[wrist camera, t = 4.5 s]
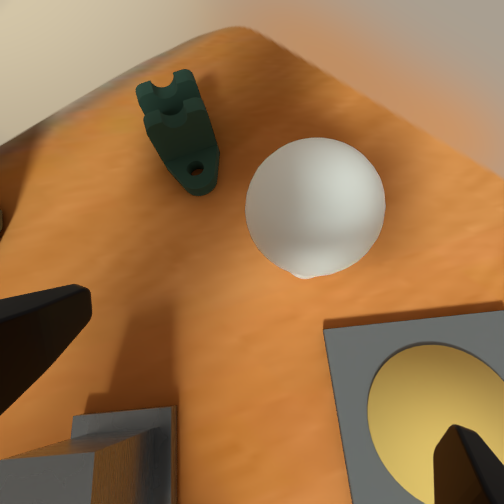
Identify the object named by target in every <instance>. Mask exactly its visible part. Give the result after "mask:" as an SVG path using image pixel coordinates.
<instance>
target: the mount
mask: <svg viewBox="0 0 504 504" xmlns="http://www.w3.org/2000/svg"><path fill="white" fill-rule="evenodd" d="M173 75H174V78H173V81H172V83H171V84H170V85H169V86H167V87H162V88H161V87H157V86H155V85H153V84H152V83H151V81H147V82H144V83H141V84H139V85H138V86H137V87H136V95H137V98H138V102H139V105H140V107H141V109H142V111H143V113H144V114H145V116H144V119H143V121H144V125H145V128H146V132H147V135H148V137H149V139H150V140H151V142H152V144H153V145H154V147H155V149H156V150H157V152H158V154H159V156H160V157H161V159H162V161H163V162H164V164H165V166H166V167H167V169H168V171H169V172H170V173H171V174H172V175H173V176H174V177H175V179H176V180H177V181H178V182H179V183H180V184H181V185H182V186H183V187H184V188H185V190H186V191H187V192H188V193H190V194H192V195H195V196H202V195H206V194H208V193H209V192H211V191H212V190H213V189H214V188H215V186H216V184H217V177H218V166H219V156H220V152H219V149H218V145H217V142H216V139H215V136H214V132H213V129H212V126H211V123H210V119H209V116H208V113H207V110H206V108H205V105H204V103H203V101H202V99H201V96H200V93H199V90H198V87H197V84H196V81H195V79H194V76H193V74H192V72H191V71H190V70H187V69H183V70H180V71H177V72H174V73H173ZM196 169H204V170H203V171H202V173H200V174H199V175H196V176H193V175H191V173H192V172H193V171H194V170H196Z"/></svg>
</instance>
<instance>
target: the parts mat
mask: <svg viewBox="0 0 504 504" xmlns="http://www.w3.org/2000/svg"><path fill="white" fill-rule="evenodd" d="M323 334H324V340H325V346H326V352H327V358H328V364H329V369H330V375H331V381H332V387H333V393H334V399H335V405H336V411H337V416H338V422H339V428H340V434H341V440H342V446H343V452H344V458H345V464H346V469H347V475H348V481H349V487H350V493H351V499H352V504H434V474H433V454H434V450H435V447H436V445H437V444H438V442H439V441H440V440H441V438H442V437H443V435H444V434H445V432H446V431H447V429H448V428H449V427H450V426H451V425H453V424H457V425H460V426H463V427H465V428H468V429H471V430H473V431H475V432H476V433H478V434H479V435H480V437H481V438H482V439H483V440H484V442H485V443H486V444H487V445H488V446H489V448H490V449H491V450H492V451H493V453H494V454H495V455H496V456H497V457H498V459H499V460H500V461H501V462H502V464H503V465H504V310H502V311H493V312H483V313H474V314H464V315H455V316H446V317H436V318H427V319H417V320H408V321H399V322H389V323H380V324H370V325H361V326H351V327H342V328H333V329H324V330H323Z"/></svg>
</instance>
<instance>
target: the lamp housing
mask: <svg viewBox="0 0 504 504" xmlns="http://www.w3.org/2000/svg"><path fill="white" fill-rule="evenodd" d="M0 504H177V405H175V406H164V407H153V408H143V409H132V410H121V411H111V412H100V413H89V414H81V415H76V416H73V423H72V432H71V439H68V440H65V441H62V442H58V443H55V444H52V445H48V446H45V447H42V448H38V449H35V450H32V451H28V452H25V453H22V454H18V455H15V456H12V457H8V458H5V459H2V460H0Z"/></svg>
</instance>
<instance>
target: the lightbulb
mask: <svg viewBox="0 0 504 504" xmlns="http://www.w3.org/2000/svg"><path fill="white" fill-rule="evenodd" d="M385 208H386V204H385V193H384V188H383V185H382V182H381V179H380V176H379V175H378V173H377V171H376V169H375V168H374V166H373V165H372V164H371V163H370V162H369V161H368V159H367V158H366V157H365V156H364V155H363V154H362V153H360V152H359V151H358V150H356V149H355V148H354V147H352V146H350V145H348V144H346V143H344V142H340V141H337V140H334V139H328V138H306V139H300V140H297V141H294V142H291V143H288V144H286V145H284V146H283V147H281V148H279V149H278V150H276V151H275V152H274V153H272V154H271V155H270V156H269V157H267V158H266V159H265V160H264V161H263V163H262V164H261V165H260V166H259V167H258V169H257V171H256V172H255V174H254V176H253V178H252V180H251V182H250V185H249V188H248V191H247V196H246V205H245V215H246V223H247V226H248V229H249V232H250V235H251V238H252V240H253V241H254V243H255V245H256V246H257V248H258V249H259V250H260V251H261V252H262V253H263V255H264V256H265V257H266V258H267V259H269V260H270V261H271V262H272V263H274V264H275V265H277V266H278V267H280V268H281V269H284V270H286V271H288V272H291V273H292V274H293V275H294V276H295V277H298V278H301V279H310V278H313V277H315V276H323V275H330V274H333V273H335V272H338V271H341V270H344V269H346V268H348V267H349V266H351V265H353V264H354V263H356V262H358V261H359V260H360V259H361V258H362V257H363V256H364V255H365V254H366V253H367V252H368V251H369V250H370V248H371V247H372V245H373V244H374V243H375V241H376V240H377V238H378V236H379V234H380V231H381V229H382V226H383V221H384V215H385Z"/></svg>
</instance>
